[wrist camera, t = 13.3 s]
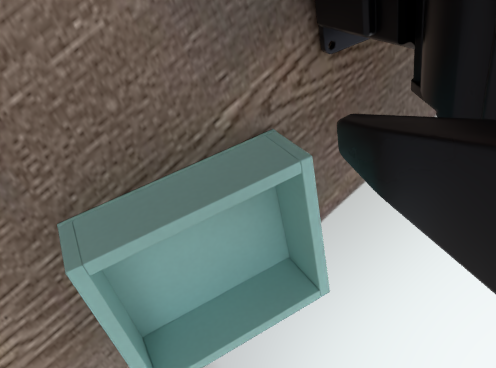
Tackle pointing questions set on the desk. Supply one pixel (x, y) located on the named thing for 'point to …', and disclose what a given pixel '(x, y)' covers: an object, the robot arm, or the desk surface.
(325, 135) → the desk surface
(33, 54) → the desk surface
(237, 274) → the bin
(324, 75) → the desk surface
